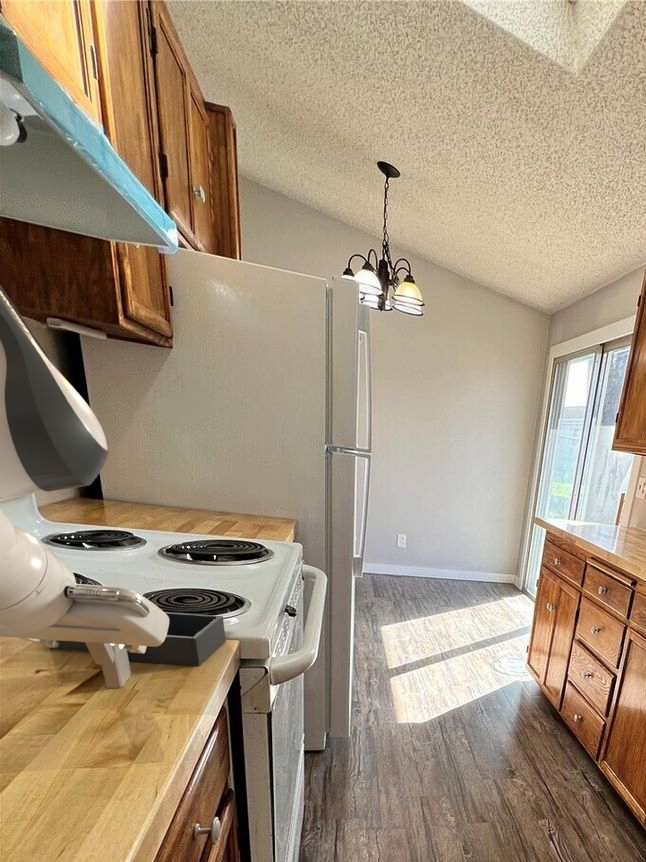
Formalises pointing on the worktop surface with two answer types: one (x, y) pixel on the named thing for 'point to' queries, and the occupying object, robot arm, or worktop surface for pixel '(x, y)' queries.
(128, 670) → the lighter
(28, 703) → the worktop surface
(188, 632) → the sorter
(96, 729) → the worktop surface
